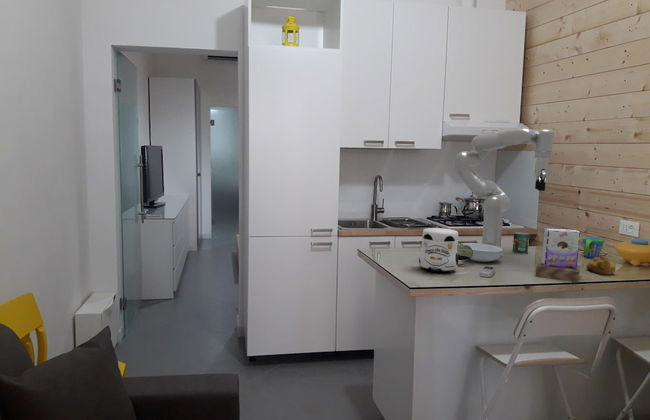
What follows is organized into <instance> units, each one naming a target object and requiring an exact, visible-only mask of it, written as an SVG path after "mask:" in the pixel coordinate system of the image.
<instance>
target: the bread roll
mask: <svg viewBox="0 0 650 420" xmlns="http://www.w3.org/2000/svg"><path fill="white" fill-rule="evenodd" d="M585 267H586V270H588V271H591V272H594V273H595V274H599V275H602V276H605V275H606V276H607V275H613V274H614V273H615V271H616V266H615V264H614V262H612V261H611V260H609V259H607V258H604V257H602V258H601V257H599V258H598V257H595V258H590V259H589V261H588V262H587V263H586V266H585Z"/></svg>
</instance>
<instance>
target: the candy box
mask: <svg viewBox="0 0 650 420" xmlns="http://www.w3.org/2000/svg"><path fill="white" fill-rule="evenodd" d="M580 238H581V231H579V230H577V229H567V228H565V229H563V228H545V227H544V231H543V241H542V249H541V260H540V261H541V263H542V264H543V265H544V266H552V267H569V268H577V266H578V259H579V249H580Z"/></svg>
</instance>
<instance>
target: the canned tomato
mask: <svg viewBox="0 0 650 420" xmlns="http://www.w3.org/2000/svg"><path fill="white" fill-rule="evenodd" d="M529 240H530V232H525V231H514V232H513V240H512V252H511V253H513V254H516V253H517V254H519V255H528V251H529Z"/></svg>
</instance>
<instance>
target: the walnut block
mask: <svg viewBox="0 0 650 420" xmlns="http://www.w3.org/2000/svg"><path fill="white" fill-rule="evenodd" d="M580 270H581V265H577V268H569V267H552V266H544V265H543V264H542V263H541V260H539V261H538V263H537V264H536V268H535V277H540V278H545V279H554V280H561V281H567V282H573V283H574V282H575V283H578V282H579V281H580V279H579V278H580Z"/></svg>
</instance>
